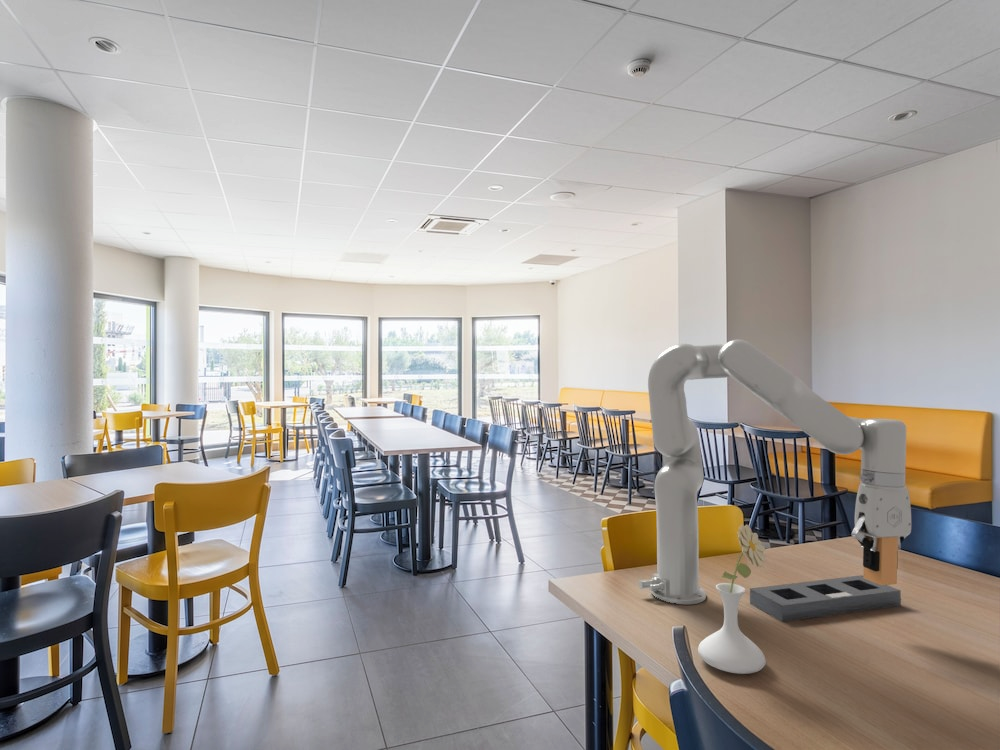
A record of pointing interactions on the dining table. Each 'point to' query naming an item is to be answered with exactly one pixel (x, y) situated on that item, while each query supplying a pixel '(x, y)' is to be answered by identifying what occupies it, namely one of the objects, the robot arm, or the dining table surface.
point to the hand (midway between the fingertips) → (880, 567)
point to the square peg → (885, 562)
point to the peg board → (823, 598)
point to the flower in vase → (735, 617)
